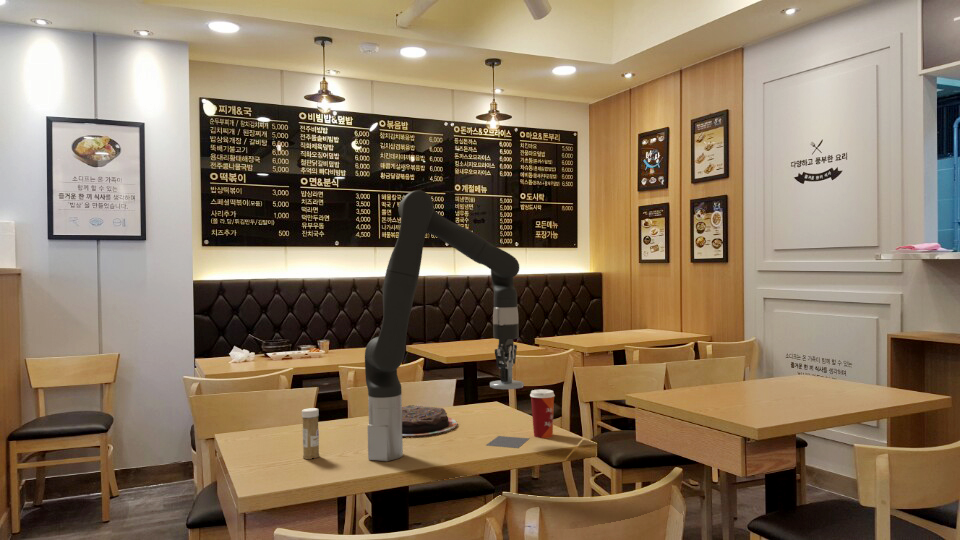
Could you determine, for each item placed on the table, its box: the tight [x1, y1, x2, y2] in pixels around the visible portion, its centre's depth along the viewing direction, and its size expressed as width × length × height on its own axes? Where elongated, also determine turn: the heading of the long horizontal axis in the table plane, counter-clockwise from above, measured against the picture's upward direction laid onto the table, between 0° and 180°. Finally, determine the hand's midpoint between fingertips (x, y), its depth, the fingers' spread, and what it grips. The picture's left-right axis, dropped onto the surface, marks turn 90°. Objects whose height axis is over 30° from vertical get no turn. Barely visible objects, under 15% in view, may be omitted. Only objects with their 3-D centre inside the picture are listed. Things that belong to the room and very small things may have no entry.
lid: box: [489, 362, 525, 390], centre depth 188 cm, size 10×10×7 cm
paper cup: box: [529, 388, 556, 439], centre depth 195 cm, size 8×8×14 cm
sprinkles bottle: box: [301, 407, 320, 460], centre depth 178 cm, size 5×5×13 cm
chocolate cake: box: [402, 405, 458, 439], centre depth 211 cm, size 28×28×7 cm
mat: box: [485, 435, 530, 449], centre depth 188 cm, size 11×10×1 cm
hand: (506, 380), depth 188 cm, fingers closed on lid, 3 cm apart
